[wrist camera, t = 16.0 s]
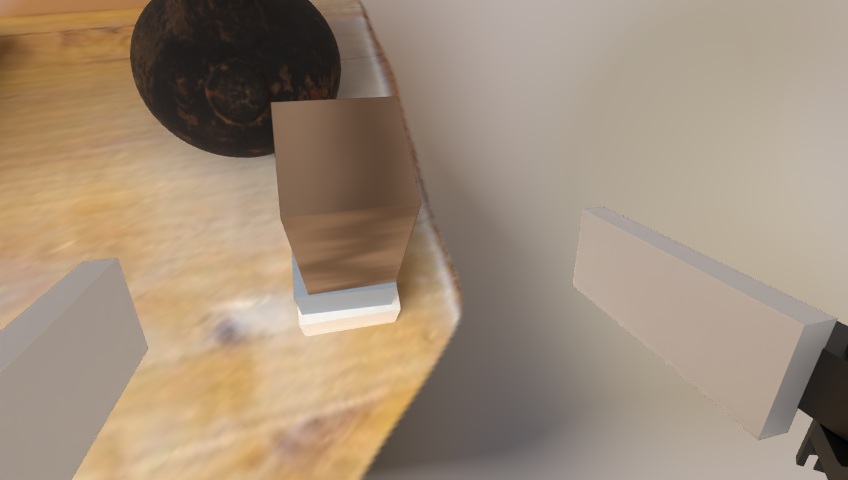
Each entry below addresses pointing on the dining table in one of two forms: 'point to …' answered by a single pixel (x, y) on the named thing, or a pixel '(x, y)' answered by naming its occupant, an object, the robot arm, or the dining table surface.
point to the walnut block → (345, 189)
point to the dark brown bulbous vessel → (231, 68)
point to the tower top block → (340, 296)
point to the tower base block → (349, 318)
